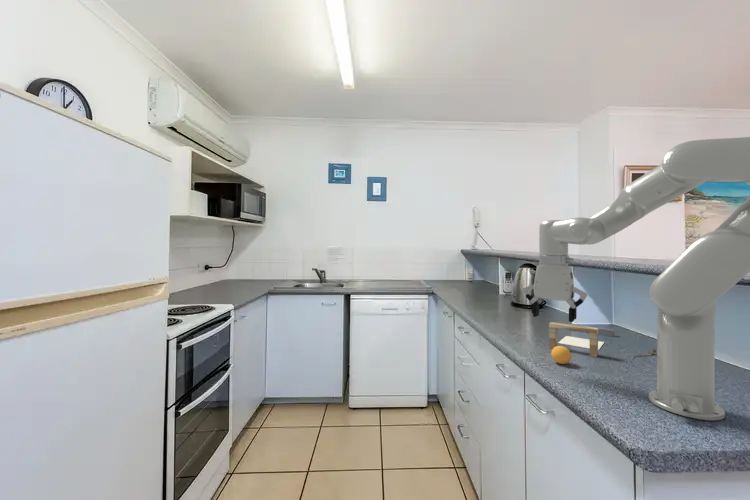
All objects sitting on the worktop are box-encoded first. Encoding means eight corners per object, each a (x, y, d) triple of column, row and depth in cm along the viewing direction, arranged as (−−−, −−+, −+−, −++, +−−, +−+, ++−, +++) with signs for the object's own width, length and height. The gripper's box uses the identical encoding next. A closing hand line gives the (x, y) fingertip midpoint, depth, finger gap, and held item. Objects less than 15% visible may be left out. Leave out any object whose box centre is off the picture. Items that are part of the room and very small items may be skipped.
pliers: (631, 360, 103) (629, 345, 119) (631, 362, 103) (629, 347, 119) (671, 366, 97) (664, 350, 113) (671, 369, 97) (664, 352, 113)
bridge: (596, 357, 107) (596, 330, 107) (549, 348, 117) (549, 323, 117) (598, 355, 109) (598, 328, 109) (551, 346, 119) (551, 321, 119)
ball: (569, 368, 98) (568, 350, 97) (549, 363, 101) (549, 346, 101) (573, 363, 102) (573, 346, 101) (553, 359, 105) (553, 342, 105)
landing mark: (598, 350, 114) (598, 349, 114) (557, 343, 123) (557, 342, 123) (604, 342, 124) (604, 342, 124) (566, 336, 132) (566, 335, 132)
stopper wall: (613, 336, 132) (613, 330, 132) (569, 330, 143) (569, 324, 143) (614, 335, 133) (614, 329, 133) (570, 329, 144) (570, 323, 144)
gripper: (590, 262, 92) (590, 321, 92) (527, 260, 104) (527, 312, 104) (584, 263, 86) (584, 325, 86) (518, 261, 99) (518, 316, 99)
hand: (553, 318), depth 95 cm, fingers open, 9 cm apart
